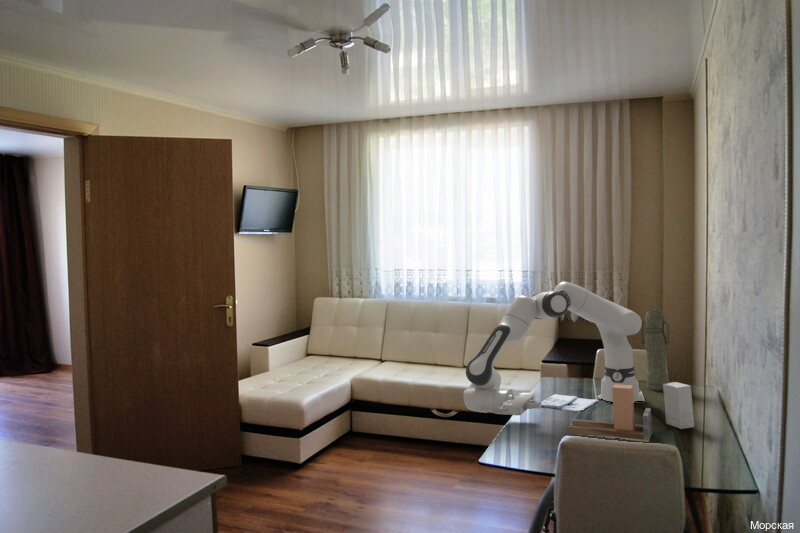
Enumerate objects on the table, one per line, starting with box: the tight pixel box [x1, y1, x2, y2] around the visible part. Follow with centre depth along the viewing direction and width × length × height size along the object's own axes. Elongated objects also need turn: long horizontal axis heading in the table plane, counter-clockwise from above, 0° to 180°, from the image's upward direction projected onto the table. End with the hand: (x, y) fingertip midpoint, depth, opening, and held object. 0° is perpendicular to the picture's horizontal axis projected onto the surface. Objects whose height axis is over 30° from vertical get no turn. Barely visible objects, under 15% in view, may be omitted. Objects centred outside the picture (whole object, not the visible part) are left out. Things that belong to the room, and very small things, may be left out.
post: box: [612, 384, 635, 431], centre depth 205 cm, size 5×6×16 cm
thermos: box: [640, 309, 671, 392], centre depth 266 cm, size 9×12×35 cm
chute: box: [566, 407, 653, 443], centre depth 208 cm, size 10×26×9 cm, turn 62°
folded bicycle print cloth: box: [540, 393, 600, 412], centre depth 249 cm, size 19×20×2 cm
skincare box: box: [662, 381, 695, 430], centre depth 213 cm, size 8×6×15 cm
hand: (540, 405), depth 219 cm, fingers closed
